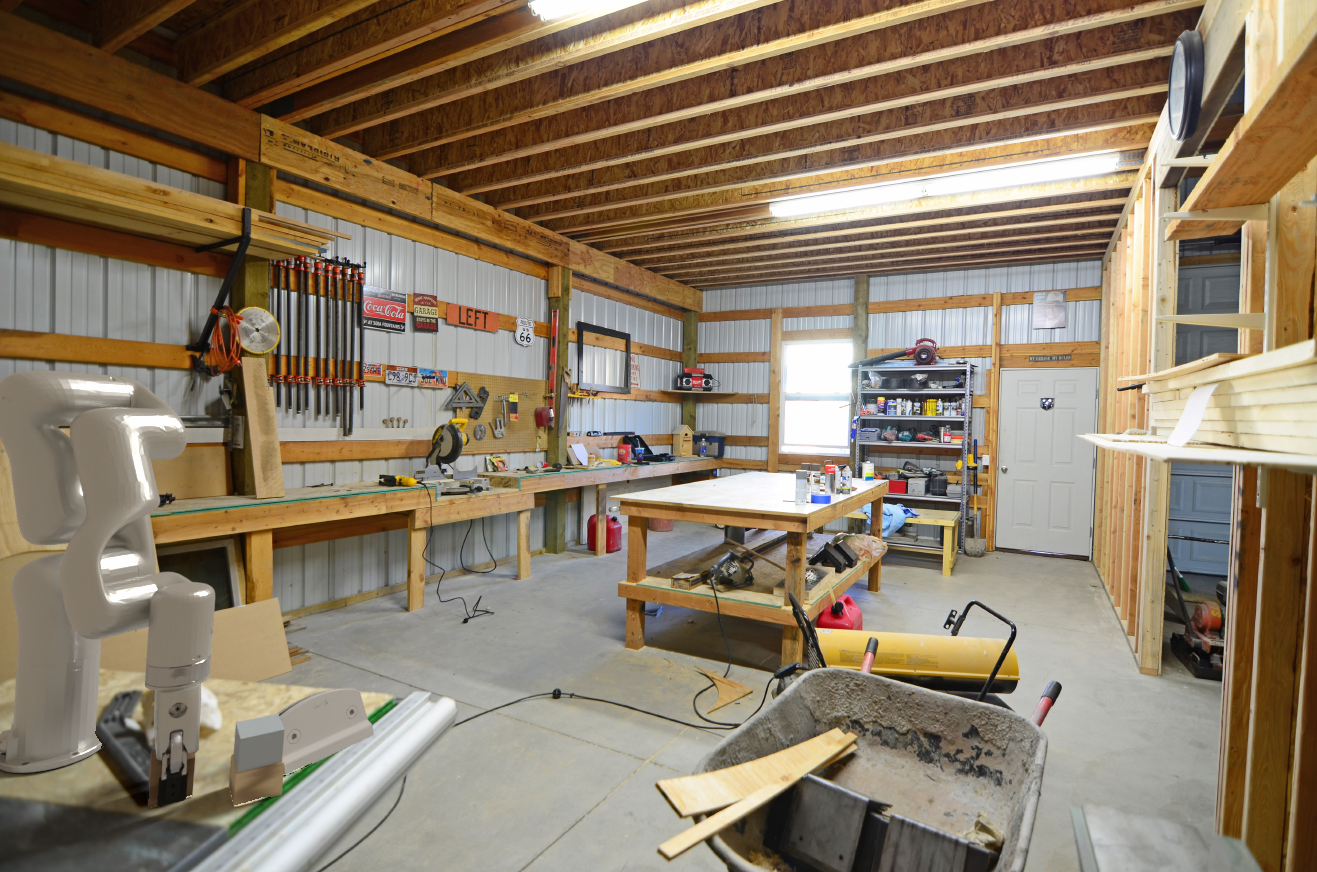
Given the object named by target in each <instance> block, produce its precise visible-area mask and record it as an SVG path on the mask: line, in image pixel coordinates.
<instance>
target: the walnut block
mask: <svg viewBox="0 0 1317 872" xmlns="http://www.w3.org/2000/svg"><path fill="white" fill-rule="evenodd" d="M182 751H183V748H182ZM170 753H171V751H166V754H170ZM149 759H150V760H149V770H148V771H149V774H148V784H149V799H148V798H147V809H148V810H149V809H152V808H151V807H153V808H155V807H154V806H155V805H157V797H158V796H157V795H158V785H159V777H161V776H162V761H160V760H158V759H157V758H156V749H151V750H150V758H149ZM168 765H170V760H167V766H168ZM195 765H196V753H194V754H193V753H190V754H189V753H188V751H187V771H188V780H187V794H186V797H187V796H190V795H192V796H193V793H194V792H193V790H194V779H195Z"/></svg>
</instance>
